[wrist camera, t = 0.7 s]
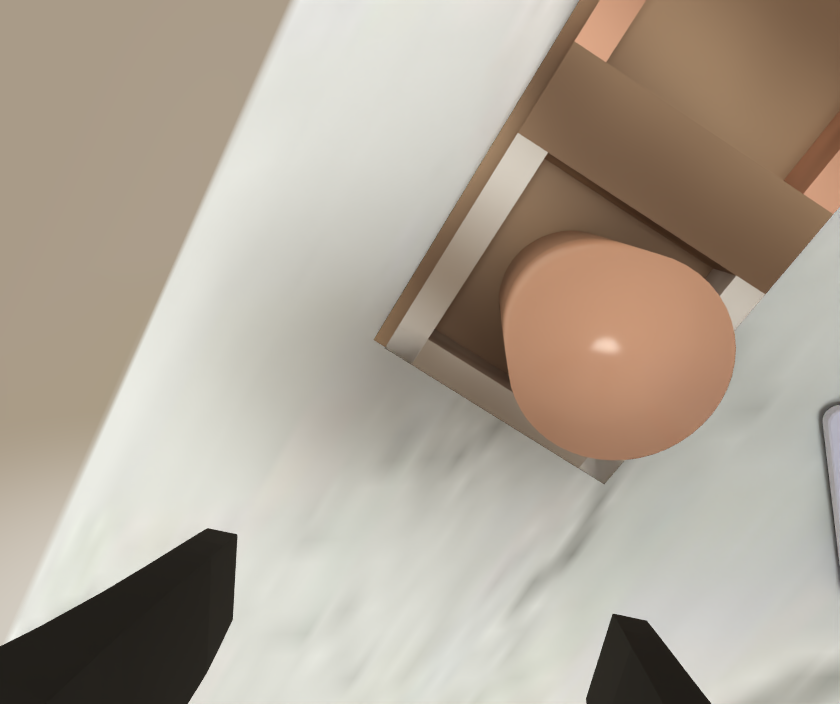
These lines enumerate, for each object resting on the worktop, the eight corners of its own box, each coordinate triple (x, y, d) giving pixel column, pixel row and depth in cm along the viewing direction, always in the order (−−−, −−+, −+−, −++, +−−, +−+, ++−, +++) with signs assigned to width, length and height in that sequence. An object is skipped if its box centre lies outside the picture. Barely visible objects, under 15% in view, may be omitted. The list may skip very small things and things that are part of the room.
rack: (725, -238, 14) (773, -324, 12) (1010, -36, 14) (1110, -80, 12) (378, 334, 19) (363, 352, 17) (592, 467, 20) (607, 503, 17)
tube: (622, 213, 16) (716, 221, 10) (648, 345, 17) (750, 435, 11) (483, 252, 17) (484, 285, 11) (516, 376, 18) (535, 478, 12)
